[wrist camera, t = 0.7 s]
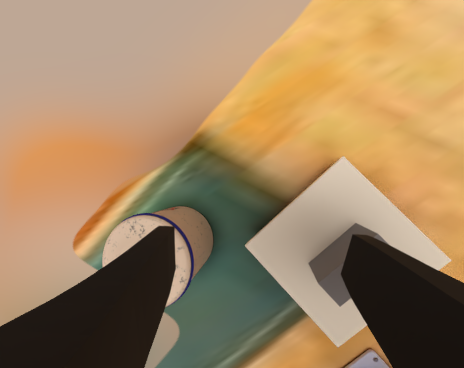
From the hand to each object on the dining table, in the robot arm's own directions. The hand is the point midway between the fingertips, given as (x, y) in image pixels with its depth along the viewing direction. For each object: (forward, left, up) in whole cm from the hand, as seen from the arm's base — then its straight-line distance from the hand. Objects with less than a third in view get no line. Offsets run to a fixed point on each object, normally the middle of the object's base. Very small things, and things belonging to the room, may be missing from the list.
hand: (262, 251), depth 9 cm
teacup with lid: (+4, +13, -19) cm, 23 cm away
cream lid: (-8, -2, -15) cm, 17 cm away
